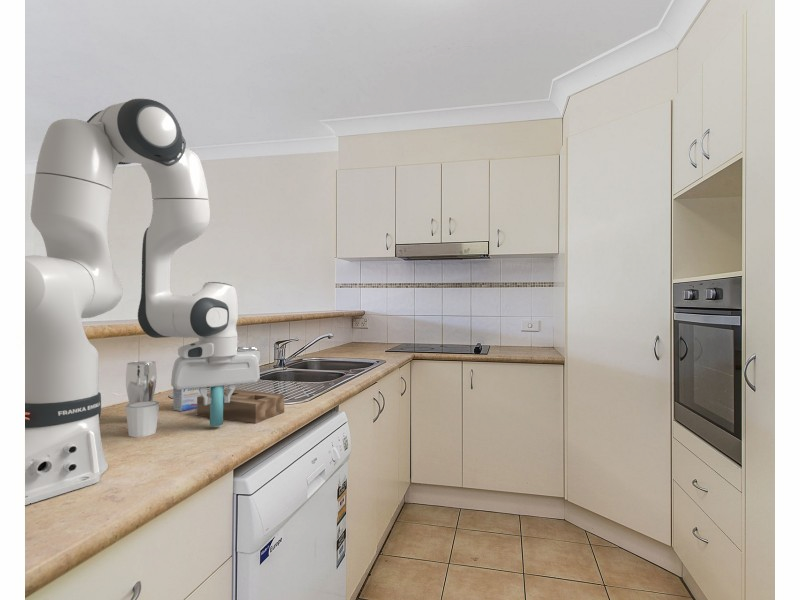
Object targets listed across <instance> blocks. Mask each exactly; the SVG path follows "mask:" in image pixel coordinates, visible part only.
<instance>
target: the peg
mask: <svg viewBox="0 0 800 600" xmlns="http://www.w3.org/2000/svg"><path fill="white" fill-rule="evenodd" d="M224 387H225V386H214V387H210V393H211V395H210V397H211V398H212V401H211V405H210V417H209V426H210V427H219V426H222V425H223V424H224V419H223V399H224V390H225V389H224Z"/></svg>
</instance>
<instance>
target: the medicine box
mask: <svg viewBox="0 0 800 600" xmlns="http://www.w3.org/2000/svg"><path fill="white" fill-rule="evenodd" d="M172 388H173V389H172V390H173V393H172V395H173V396H172V397H173V399H172V400H173V401H172V404H173V405H172V410H174V411H179V412H181V413H182V411H183V412H187V411H191V410H197V397H199V396H202V395H201V393H200V392H199V388H192V389H181V390H176V389H175V388H174V387H173V386H172ZM204 392H205V391H204ZM207 393H208V390H207V391H206V392H205V394H206V395H207Z"/></svg>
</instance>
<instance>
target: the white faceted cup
mask: <svg viewBox="0 0 800 600" xmlns="http://www.w3.org/2000/svg"><path fill="white" fill-rule="evenodd" d="M159 409H160V402H159V401H157V400H153V401H142V402H135V403H131V404H129V403H128V404H126V405H125V413H126V422H127V423H126V424H127V434H128V436H129V437H132V438H142V437H147V436H151V435H154V434H156V432H157V429H158V428H157V425H158V417H159Z"/></svg>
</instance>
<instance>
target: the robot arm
mask: <svg viewBox="0 0 800 600" xmlns="http://www.w3.org/2000/svg"><path fill="white" fill-rule="evenodd" d="M186 145H187V143H186V139H185V137H184V135H183V132H182V128H181V127H180V123H179V121H178V119H177V117H176V116H175V114H174V113H173V112H172V111H171V109H170V108H168V107H167V106H166V105H165V104H163V103H161V102H159V101H157V100H154V99H149V98H132V99H130V100H127V101H124V102H117V103H114V104H112V105H110V106H107V107H105V108H104V109H102V110H99V111H97V112H96V113H94V114H93V115H92V116H90V118H88V120H87V121H85V120H81V119H78V118H61V119H57V120H55V121H53V122H52V123H51V124H50V125H49V126H48V128H47V130H46V133H45V135H44V138H43V141H42V143H41V147H40V150H39V154H38V159H37V162H36V169H35V174H34V183H33V191H32V200H31V206H30V220H31V222H32V224H33V227H35V228H36V230H37V231H38V232H39V233H40V235H41V237H42V240H43V244H44V247H45V251H46V256H43V255H36V254H35V255H24V256H25V505H24V506H27V505H30V503H31V504H34V503H36V502H40V501H44V500H47V499H49V498H53V497H56V496H59V495H62V494H65V493H69V492H71V491H72V492H73V491H74V490H78V489H81V488H85V487H89V486H91V485H94V484H97V483H98V482H100V481H101V475H102V474H103V473H105V472H106V471H107V469H108V468H109V464H108V461H107V457H106V456H105V451H104V449H103V443H102V436H101V435H102V434H101V428H100V419H101V414H102V394H101V392H99V368H100V367H99V365H100V364H99V362H100V361H99V357H100V355H99V352H98V349H97V348H96V347H95V346H94V345H93V344H92V343H91V342H90V341H89V339H88V337H87V335H86V331H85V329H84V326H83V325H84V324H83V321H82V320H83V319H90V318H95V317H98V316H100V315H103V314H106V313H108V312H110V311H111V310H113V309H114V308H116V307H117V306H118V305H119V303H120V302H121V300H122V296H123V291H124V289H123V284H122V281H121V279H120V278H119V277H118V275H117V274H116V271H115V270H114V265H113V261H112V254H111V250H110V242H109V220H110V219H109V218H110V209H111V200H112V192H113V191H112V190H113V184H114V183H113V181H114V180H113V179H114V173H115V171H116V167H118V165H130V164H140V167H142V168H143V170H144V171H145V173H146V175H147V177H148V180H149V182H150V190H151V199H152V200H151V201H152V213H151V219H150V223H149V225H148V227H147V228H146V229H145V231H144V234H143V239H142V247H141V248H142V249H141V251H142V252H141V286H140V287H141V291H140V293H141V294H140V300H139V305H138V310H137V321H138V324H139V326H140V329H142V331H143V333H145V334H146V335H147V336H149V337H150V338H155V339H157V338H158V339H161V338H186V339H188V338H198V341H195V342H191V343H188V344H185V345H182V346H179V347H178V349H177V354H178V356H179V357H177V358H176V359H175V361H174V363H173V366H172V372H171V378H170V379H171V380H170V381H171V382H170V384H171V386H172V388H173V387H174V388H175V389H176V390H181V389H192V388H199V392H200V393H201V395H202V396H203V398H204V405H205V406H206V405H211V401H212V398H211V397H207V396H206V394H205V392H206V391H207V392H208V388H211V387H214V386H224V387H225V386H226V387H227V388H226V389H229V390H228V391H227V393H226V395H224V399H223V403H230V396H231V395H232V393H233V391H234V390H235V389H236V385H243V384H245V385H247V384H255V383H258V382H259V380H260V378H261V377H260V376H261V375H260V373H261V372H260V364H259V362H260V359H261V353H260V350H259V349H258V348H255V346H248V347H245V346H240V347H239V346H238V331H237V324H238V321H239V301H238V300H239V299H238V293H237V289H236V287H234V286H233V285H232V284H228V283H225V282H219V281H218V282H217V281H208V282H205V283H204V284H203V286H202V289H200V290H199V291H197V292H195V293H192V294H191V295H190V294H189V295H174V294H173V293H172V291H171V270H172V269H171V268H172V267H171V266H172V258H173V256H174V254H175V253H176V251H177V250H179V249H180V248H181V247H183V246H185V245H186V244H189V243H190V242H193V241H195V240H197V239H198V238H200V237H201V236H202V235H203V234H204V233H205V232H206V230H207V229H208V227H209V225H210V222H211V221H210V219H211V207H210V206H211V205H210V198H209V190H208V183H207V180H206V176H205V171H204V168H203V165H202V161H201V159H200V157H199V156H198V154H197V153H196V152H194V151H193V150H191V149H190V148H188V147H186ZM204 391H205V392H204Z"/></svg>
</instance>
